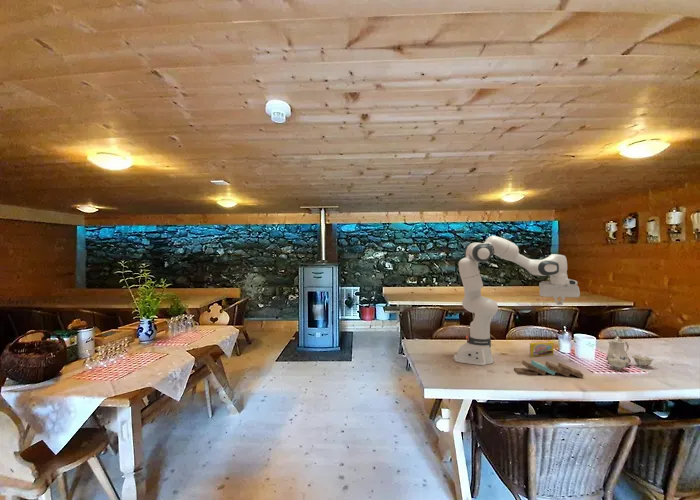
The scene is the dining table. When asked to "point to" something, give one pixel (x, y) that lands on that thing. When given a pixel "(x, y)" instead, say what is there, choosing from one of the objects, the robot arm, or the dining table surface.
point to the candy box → (541, 349)
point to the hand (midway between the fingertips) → (559, 304)
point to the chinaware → (623, 356)
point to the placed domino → (542, 367)
